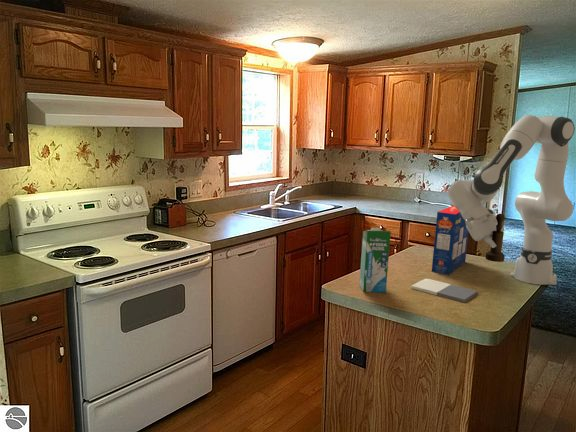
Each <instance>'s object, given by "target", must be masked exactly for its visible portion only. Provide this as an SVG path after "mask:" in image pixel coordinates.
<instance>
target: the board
mask: <svg viewBox="0 0 576 432" xmlns="http://www.w3.org/2000/svg"><path fill="white" fill-rule="evenodd" d="M410 289H412V290H415V291H420V292H422V293H427V294H431V295H435V296H439V297H442V298H445V299H450V300H453V301H457V302H461V303H466V302H468V301H469V300H470V299H472V298H473V297H475V296H477V295H478V292H479V290H475V289H472V288H468V287H463V286H460V285H455V284H451V283H448V282H447V283H446V282H443V281H439V280H438V281H437V280H435V279H434V280H433V279H430V278H424V279H422V280H420V281H418V282H416V283H413V284H412V285H411V286H410Z"/></svg>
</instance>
